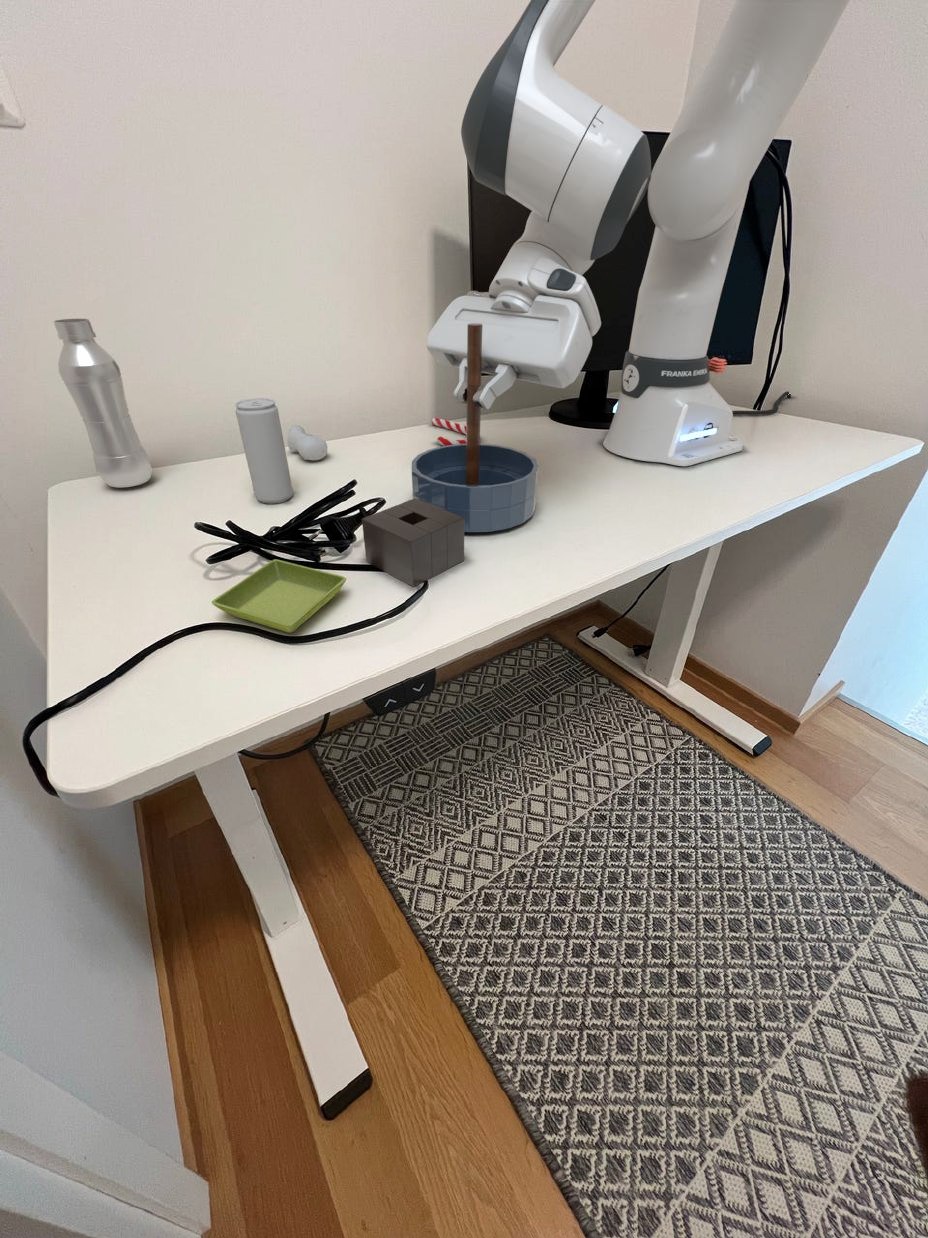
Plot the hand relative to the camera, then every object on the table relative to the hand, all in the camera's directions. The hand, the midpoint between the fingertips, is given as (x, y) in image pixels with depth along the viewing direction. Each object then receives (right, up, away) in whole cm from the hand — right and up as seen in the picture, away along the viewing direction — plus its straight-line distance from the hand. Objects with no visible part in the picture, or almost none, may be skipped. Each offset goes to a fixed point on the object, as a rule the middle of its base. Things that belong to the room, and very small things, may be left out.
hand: (470, 402), depth 61 cm
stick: (0, -10, +7) cm, 12 cm away
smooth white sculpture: (-25, +1, +24) cm, 34 cm away
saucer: (-17, -24, -11) cm, 31 cm away
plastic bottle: (-47, -6, +14) cm, 49 cm away
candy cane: (-3, +7, +33) cm, 34 cm away
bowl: (+1, -11, +8) cm, 13 cm away
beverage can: (-26, -9, +10) cm, 29 cm away
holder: (-6, -18, -3) cm, 20 cm away
